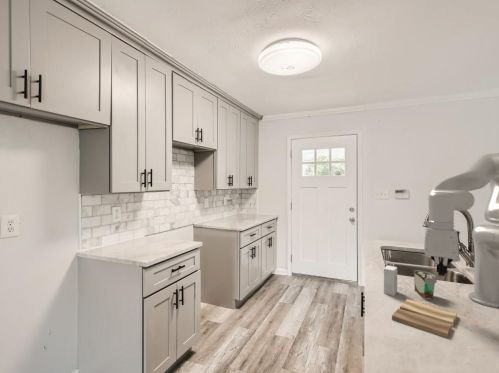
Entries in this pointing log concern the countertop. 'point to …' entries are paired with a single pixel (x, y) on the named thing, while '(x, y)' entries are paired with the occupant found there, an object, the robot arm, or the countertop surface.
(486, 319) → the countertop surface
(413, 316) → the floor board
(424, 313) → the oak plank
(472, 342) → the countertop surface
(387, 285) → the skincare box
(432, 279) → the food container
